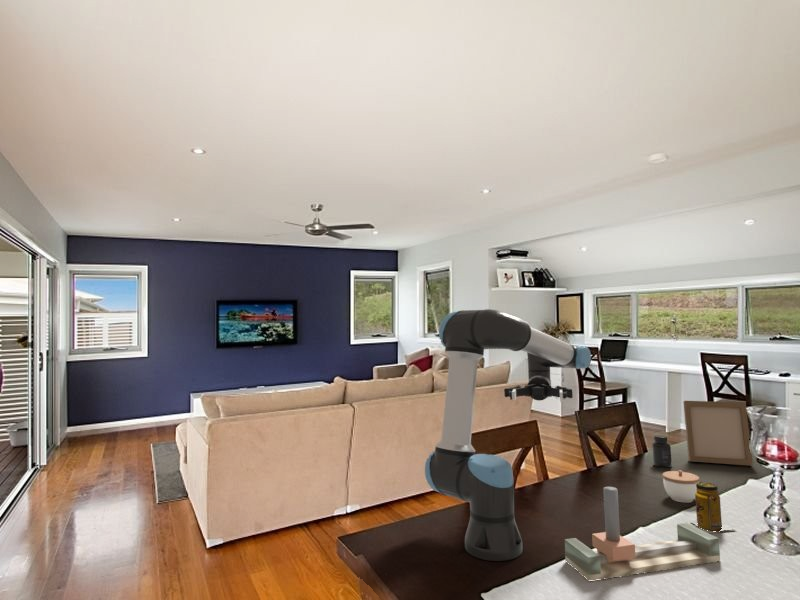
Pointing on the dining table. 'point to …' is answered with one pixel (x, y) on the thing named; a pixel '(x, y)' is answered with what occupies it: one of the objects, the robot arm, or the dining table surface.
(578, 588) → the dining table surface
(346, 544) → the dining table surface
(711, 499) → the condiment
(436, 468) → the robot arm
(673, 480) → the lidded jar
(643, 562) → the rail track
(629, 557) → the carriage
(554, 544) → the dining table surface
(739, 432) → the photo frame
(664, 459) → the supplement bottle
